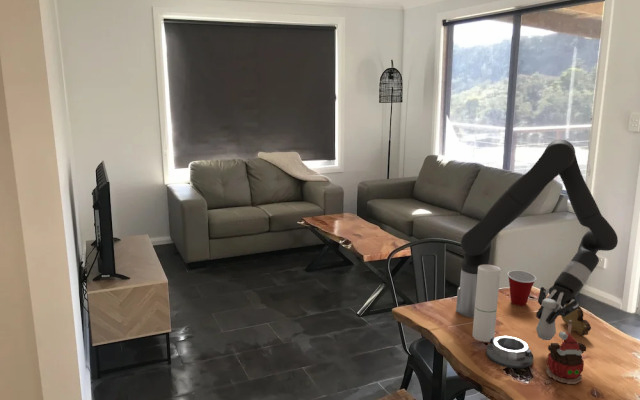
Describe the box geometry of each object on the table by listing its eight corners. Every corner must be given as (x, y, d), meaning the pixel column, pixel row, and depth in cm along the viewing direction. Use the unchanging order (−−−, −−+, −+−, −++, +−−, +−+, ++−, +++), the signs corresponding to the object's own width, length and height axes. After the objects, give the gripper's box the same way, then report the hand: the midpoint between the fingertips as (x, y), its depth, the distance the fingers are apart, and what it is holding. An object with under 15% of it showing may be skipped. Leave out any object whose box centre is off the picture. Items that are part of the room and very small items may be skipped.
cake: (572, 368, 156) (580, 313, 152) (589, 385, 147) (597, 328, 143) (538, 368, 156) (545, 314, 152) (553, 385, 147) (560, 328, 143)
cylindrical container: (494, 334, 177) (500, 266, 172) (493, 343, 171) (500, 273, 165) (472, 330, 180) (478, 263, 174) (471, 339, 173) (477, 270, 168)
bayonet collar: (478, 357, 162) (479, 344, 161) (497, 341, 172) (498, 329, 171) (522, 373, 153) (524, 360, 152) (539, 356, 163) (540, 343, 162)
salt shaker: (556, 342, 162) (561, 304, 159) (537, 340, 163) (542, 303, 160) (552, 334, 167) (557, 297, 164) (533, 332, 168) (538, 295, 165)
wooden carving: (594, 339, 174) (598, 312, 172) (582, 340, 173) (586, 313, 171) (564, 318, 190) (567, 293, 188) (553, 319, 189) (556, 294, 187)
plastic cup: (514, 309, 197) (517, 280, 194) (499, 298, 207) (502, 271, 205) (539, 307, 199) (542, 279, 197) (523, 296, 210) (526, 269, 207)
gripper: (549, 265, 170) (520, 305, 167) (588, 279, 158) (557, 323, 155) (558, 277, 173) (529, 317, 170) (597, 292, 161) (566, 335, 158)
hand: (543, 320), depth 162 cm, fingers closed on salt shaker, 3 cm apart
